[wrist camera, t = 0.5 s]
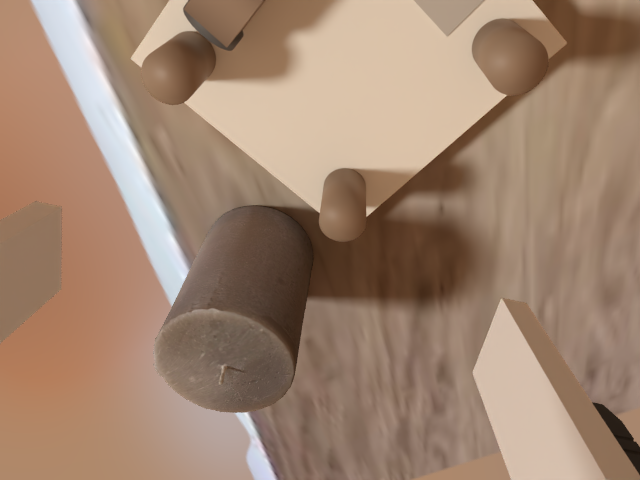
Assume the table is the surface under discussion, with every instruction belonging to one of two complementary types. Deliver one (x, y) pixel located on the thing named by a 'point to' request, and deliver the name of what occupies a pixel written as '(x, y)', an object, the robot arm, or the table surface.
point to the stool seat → (350, 87)
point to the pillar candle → (239, 313)
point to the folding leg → (221, 19)
